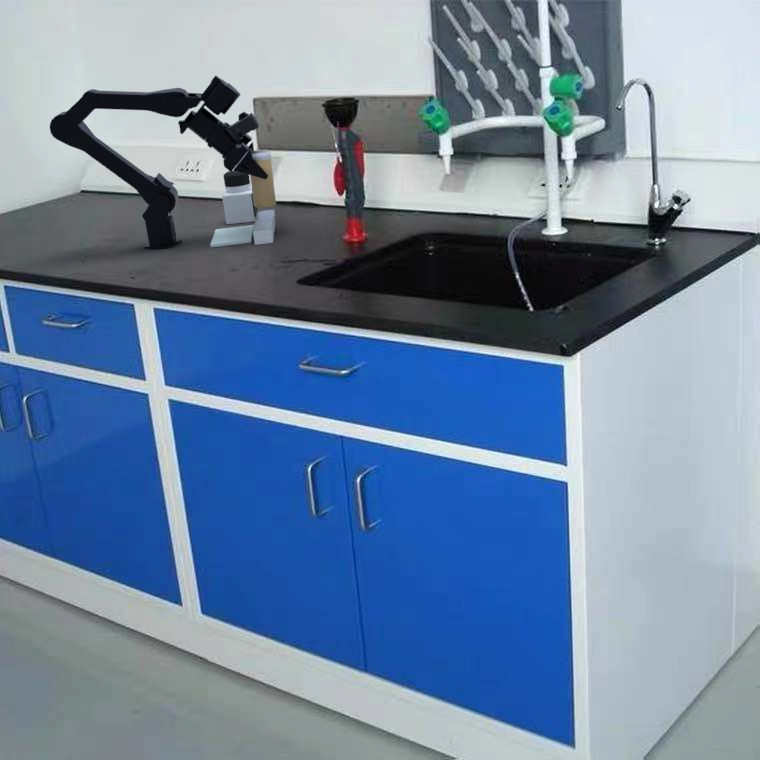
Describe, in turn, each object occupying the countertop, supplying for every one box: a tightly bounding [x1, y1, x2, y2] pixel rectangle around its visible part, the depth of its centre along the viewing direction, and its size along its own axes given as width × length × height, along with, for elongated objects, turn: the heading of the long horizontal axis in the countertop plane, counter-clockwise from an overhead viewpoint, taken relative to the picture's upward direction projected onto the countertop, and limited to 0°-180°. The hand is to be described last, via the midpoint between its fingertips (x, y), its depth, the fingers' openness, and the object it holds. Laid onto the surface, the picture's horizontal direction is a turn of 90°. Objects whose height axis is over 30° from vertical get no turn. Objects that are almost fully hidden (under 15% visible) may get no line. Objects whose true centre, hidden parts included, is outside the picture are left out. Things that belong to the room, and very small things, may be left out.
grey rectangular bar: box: [252, 208, 277, 246], centre depth 290 cm, size 25×4×3 cm, turn 3°
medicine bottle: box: [221, 169, 259, 225], centre depth 304 cm, size 7×7×12 cm
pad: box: [209, 224, 254, 248], centre depth 289 cm, size 9×16×1 cm, turn 3°
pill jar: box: [249, 149, 277, 208], centre depth 285 cm, size 5×5×12 cm
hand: (267, 175), depth 285 cm, fingers closed on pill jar, 5 cm apart
